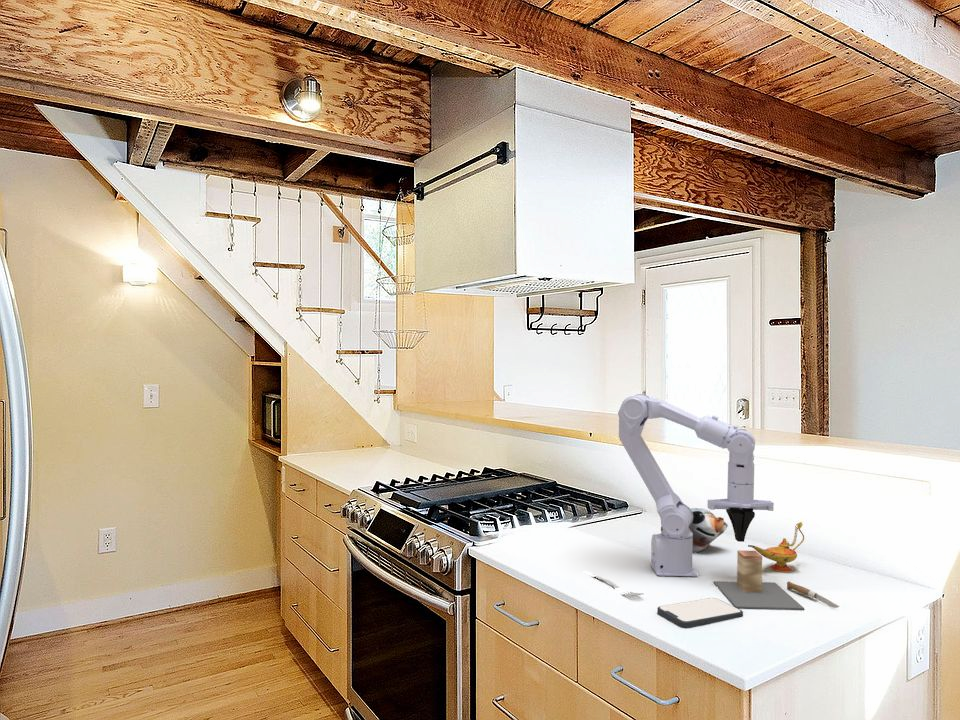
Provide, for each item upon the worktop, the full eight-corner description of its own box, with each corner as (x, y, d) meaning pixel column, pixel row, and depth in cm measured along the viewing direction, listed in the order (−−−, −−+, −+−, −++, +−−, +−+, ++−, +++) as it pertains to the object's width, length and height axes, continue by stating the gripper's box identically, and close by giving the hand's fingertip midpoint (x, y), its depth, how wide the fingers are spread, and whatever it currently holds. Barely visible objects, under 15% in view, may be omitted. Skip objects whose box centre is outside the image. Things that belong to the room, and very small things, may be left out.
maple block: (743, 591, 148) (743, 555, 147) (736, 585, 152) (737, 550, 151) (761, 592, 147) (762, 556, 147) (754, 585, 151) (755, 550, 151)
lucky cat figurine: (704, 538, 189) (726, 500, 183) (715, 568, 178) (738, 529, 172) (654, 524, 188) (675, 485, 182) (662, 552, 177) (684, 512, 172)
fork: (580, 567, 165) (580, 560, 165) (645, 601, 144) (645, 593, 144) (569, 569, 164) (569, 562, 164) (633, 603, 142) (633, 595, 142)
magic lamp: (737, 569, 164) (738, 524, 164) (792, 561, 171) (793, 518, 170) (758, 578, 157) (759, 532, 157) (814, 569, 164) (815, 524, 164)
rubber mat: (735, 608, 139) (736, 606, 139) (713, 582, 154) (713, 581, 154) (804, 610, 139) (804, 608, 139) (774, 584, 154) (774, 582, 154)
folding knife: (842, 611, 139) (842, 601, 139) (836, 612, 138) (836, 602, 138) (789, 589, 151) (790, 580, 151) (784, 589, 151) (784, 581, 151)
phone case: (714, 603, 143) (654, 614, 137) (714, 596, 143) (654, 606, 137) (746, 619, 135) (683, 631, 129) (746, 611, 135) (684, 623, 129)
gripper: (714, 485, 152) (713, 544, 152) (779, 486, 151) (778, 546, 151) (705, 479, 159) (704, 536, 159) (767, 480, 158) (766, 537, 159)
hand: (739, 540), depth 156 cm, fingers closed
